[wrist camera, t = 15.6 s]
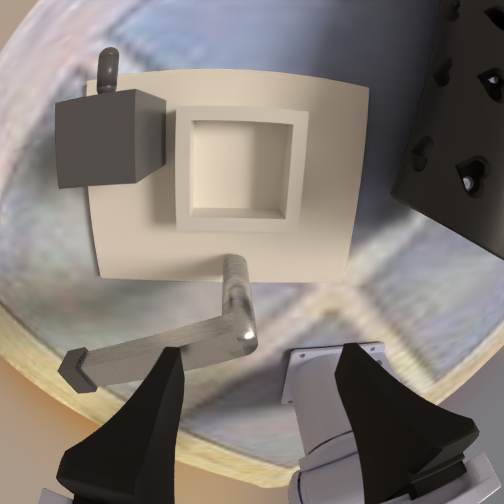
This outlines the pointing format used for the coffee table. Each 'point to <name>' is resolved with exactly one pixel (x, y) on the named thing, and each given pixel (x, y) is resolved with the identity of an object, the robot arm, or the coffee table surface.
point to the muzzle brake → (461, 127)
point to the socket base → (239, 179)
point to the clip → (174, 341)
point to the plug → (109, 133)
